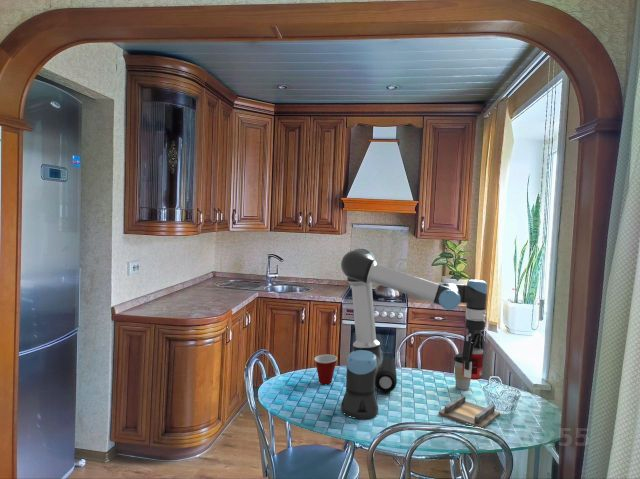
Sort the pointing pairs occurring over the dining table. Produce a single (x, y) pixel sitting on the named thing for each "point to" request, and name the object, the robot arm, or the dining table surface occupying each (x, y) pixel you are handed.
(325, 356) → the plastic cup
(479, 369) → the canned food
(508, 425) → the dining table surface
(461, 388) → the coffee cup
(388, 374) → the portable speaker
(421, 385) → the dining table surface
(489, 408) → the dock board
